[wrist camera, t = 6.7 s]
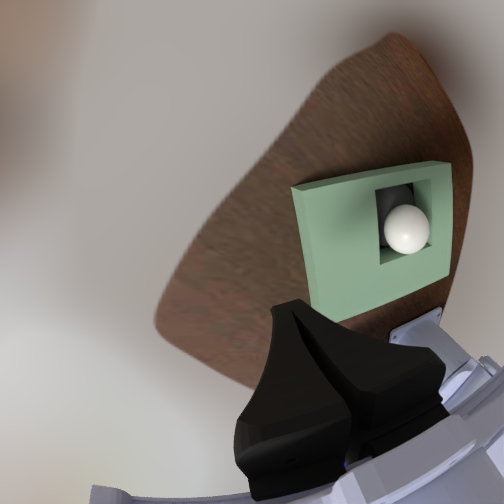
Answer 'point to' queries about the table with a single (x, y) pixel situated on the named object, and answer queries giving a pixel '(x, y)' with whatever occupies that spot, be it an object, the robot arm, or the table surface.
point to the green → (371, 236)
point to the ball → (406, 229)
